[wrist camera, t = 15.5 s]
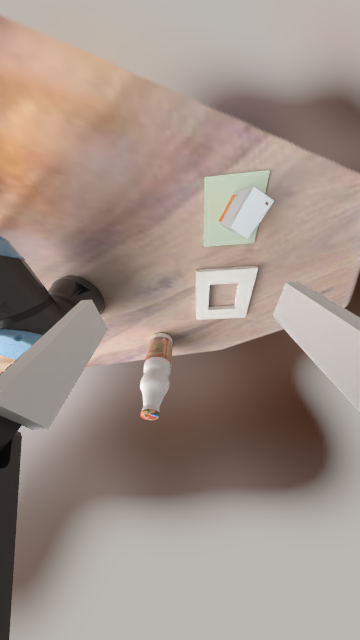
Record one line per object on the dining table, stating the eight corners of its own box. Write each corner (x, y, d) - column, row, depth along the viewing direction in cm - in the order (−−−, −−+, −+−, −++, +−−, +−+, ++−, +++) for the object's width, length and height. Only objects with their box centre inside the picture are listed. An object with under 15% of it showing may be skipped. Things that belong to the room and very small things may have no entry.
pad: (202, 246, 37) (203, 247, 37) (204, 177, 29) (204, 176, 29) (253, 242, 36) (254, 242, 36) (268, 170, 28) (270, 169, 28)
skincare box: (232, 192, 30) (255, 183, 21) (248, 203, 31) (276, 200, 22) (216, 223, 33) (229, 228, 24) (230, 232, 35) (248, 240, 25)
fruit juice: (177, 340, 59) (174, 417, 37) (163, 350, 63) (153, 425, 41) (159, 328, 55) (144, 407, 33) (146, 340, 59) (124, 417, 37)
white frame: (196, 316, 51) (196, 320, 50) (195, 270, 41) (196, 272, 39) (243, 314, 50) (245, 317, 49) (255, 265, 40) (258, 267, 38)
